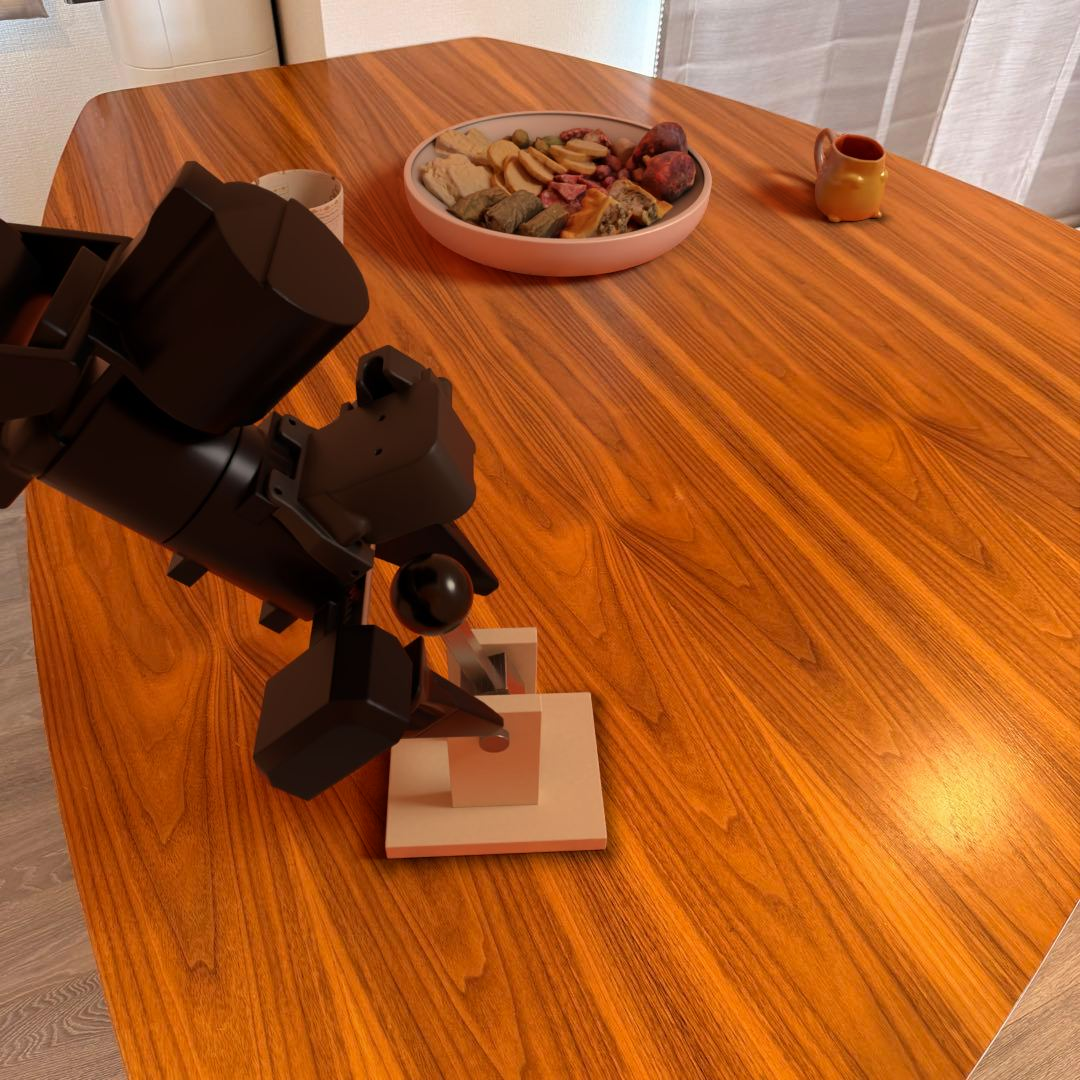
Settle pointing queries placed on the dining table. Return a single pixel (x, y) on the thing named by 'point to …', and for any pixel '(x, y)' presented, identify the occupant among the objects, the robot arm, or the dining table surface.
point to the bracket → (501, 773)
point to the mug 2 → (849, 176)
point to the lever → (450, 621)
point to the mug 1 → (310, 194)
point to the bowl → (558, 191)
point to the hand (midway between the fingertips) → (495, 654)
